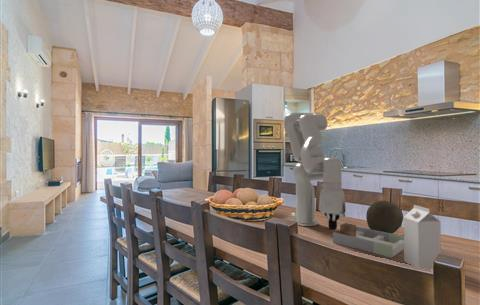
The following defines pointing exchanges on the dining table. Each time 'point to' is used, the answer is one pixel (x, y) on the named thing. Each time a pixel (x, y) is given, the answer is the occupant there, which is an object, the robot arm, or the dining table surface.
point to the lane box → (372, 241)
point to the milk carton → (421, 237)
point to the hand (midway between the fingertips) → (332, 229)
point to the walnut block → (348, 229)
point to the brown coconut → (384, 217)
